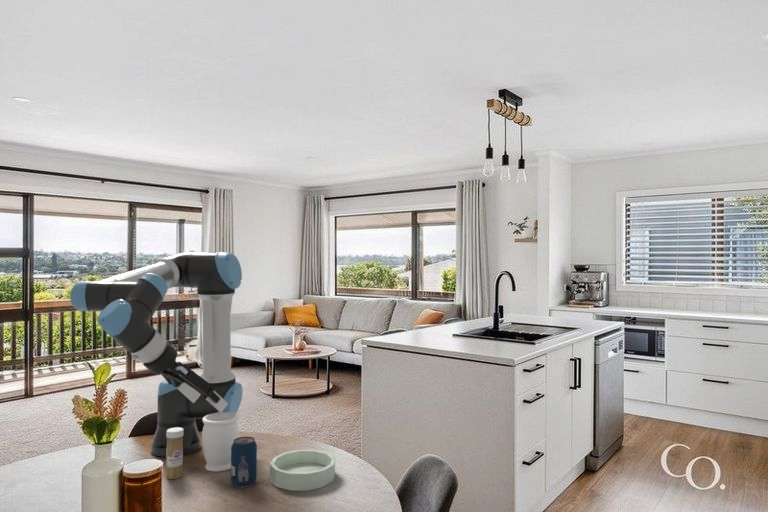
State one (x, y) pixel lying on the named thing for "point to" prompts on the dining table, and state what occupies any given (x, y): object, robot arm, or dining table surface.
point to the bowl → (302, 470)
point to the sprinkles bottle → (174, 452)
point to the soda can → (243, 461)
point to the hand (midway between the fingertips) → (210, 403)
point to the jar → (219, 439)
